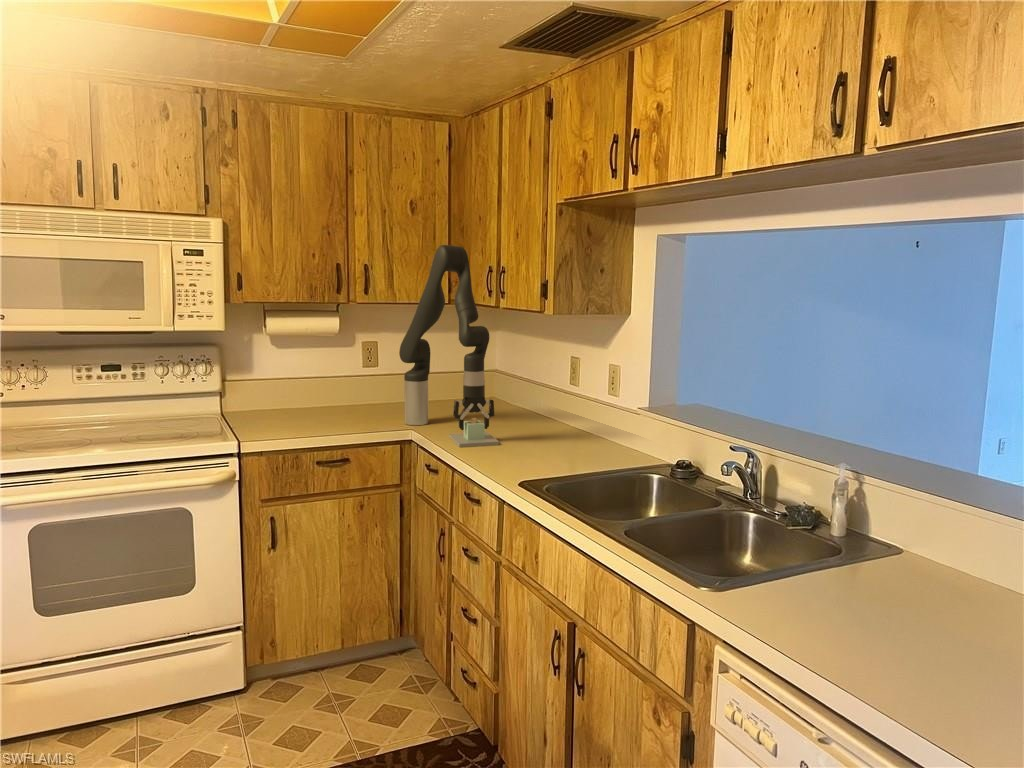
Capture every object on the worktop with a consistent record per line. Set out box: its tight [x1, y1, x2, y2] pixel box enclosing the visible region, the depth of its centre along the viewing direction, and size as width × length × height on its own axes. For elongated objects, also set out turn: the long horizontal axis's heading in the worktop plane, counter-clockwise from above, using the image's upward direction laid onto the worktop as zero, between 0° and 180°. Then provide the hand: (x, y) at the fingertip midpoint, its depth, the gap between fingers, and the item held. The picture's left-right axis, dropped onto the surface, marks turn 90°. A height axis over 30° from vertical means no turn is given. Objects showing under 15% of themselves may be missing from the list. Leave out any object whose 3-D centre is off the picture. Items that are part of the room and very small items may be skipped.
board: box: [449, 417, 500, 448], centre depth 259 cm, size 16×14×8 cm
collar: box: [463, 420, 486, 440], centre depth 259 cm, size 6×6×6 cm
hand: (473, 429), depth 259 cm, fingers open, 8 cm apart
